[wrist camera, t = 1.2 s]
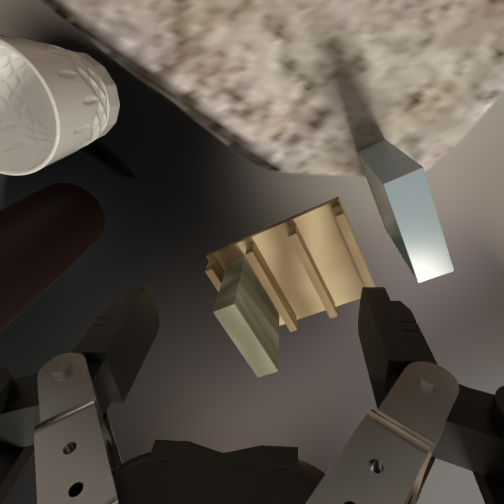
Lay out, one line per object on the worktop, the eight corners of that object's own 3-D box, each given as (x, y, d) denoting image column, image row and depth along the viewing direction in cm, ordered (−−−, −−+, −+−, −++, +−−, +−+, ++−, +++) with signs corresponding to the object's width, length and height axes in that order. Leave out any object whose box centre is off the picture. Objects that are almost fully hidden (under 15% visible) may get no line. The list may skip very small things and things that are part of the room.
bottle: (44, 238, 36) (-185, 402, 18) (35, 175, 33) (-255, 302, 15) (108, 250, 36) (-59, 425, 18) (105, 188, 33) (-103, 330, 15)
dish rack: (338, 196, 31) (355, 238, 24) (377, 288, 35) (401, 349, 28) (207, 253, 35) (186, 304, 28) (256, 330, 39) (249, 392, 32)
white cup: (22, 106, 30) (-88, 123, 21) (53, 17, 26) (-62, -7, 18) (104, 162, 31) (34, 199, 23) (143, 85, 28) (79, 94, 19)
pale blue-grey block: (385, 139, 29) (423, 167, 21) (411, 219, 32) (454, 270, 24) (357, 152, 29) (383, 184, 21) (386, 229, 32) (418, 282, 24)
